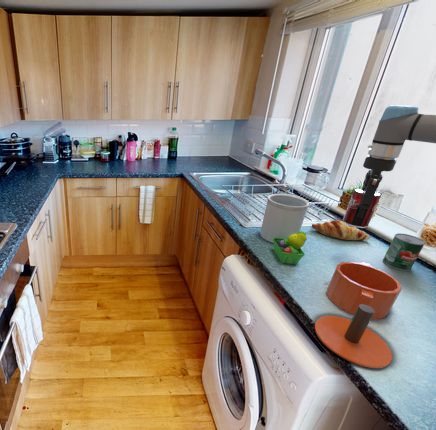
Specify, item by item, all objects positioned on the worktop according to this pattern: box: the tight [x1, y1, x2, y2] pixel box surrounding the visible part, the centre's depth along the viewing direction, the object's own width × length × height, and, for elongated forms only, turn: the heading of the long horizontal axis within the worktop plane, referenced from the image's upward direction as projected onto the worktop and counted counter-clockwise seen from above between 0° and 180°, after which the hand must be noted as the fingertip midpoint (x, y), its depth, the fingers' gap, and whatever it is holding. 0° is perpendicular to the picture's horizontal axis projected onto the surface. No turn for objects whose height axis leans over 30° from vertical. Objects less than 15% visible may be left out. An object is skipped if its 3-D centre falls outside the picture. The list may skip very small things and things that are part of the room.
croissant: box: [311, 219, 372, 241], centre depth 124 cm, size 21×10×8 cm, turn 65°
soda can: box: [342, 188, 382, 229], centre depth 99 cm, size 7×7×12 cm
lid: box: [313, 304, 393, 369], centre depth 71 cm, size 16×16×11 cm
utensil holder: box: [259, 193, 310, 244], centre depth 119 cm, size 15×15×18 cm
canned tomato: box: [382, 232, 426, 272], centre depth 103 cm, size 8×8×11 cm
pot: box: [326, 261, 402, 321], centre depth 85 cm, size 15×20×10 cm
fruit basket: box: [273, 230, 308, 265], centre depth 106 cm, size 11×9×11 cm
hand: (356, 220), depth 101 cm, fingers closed on soda can, 7 cm apart
